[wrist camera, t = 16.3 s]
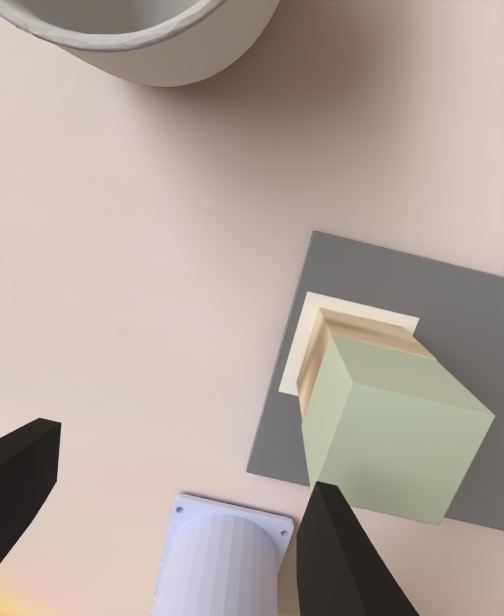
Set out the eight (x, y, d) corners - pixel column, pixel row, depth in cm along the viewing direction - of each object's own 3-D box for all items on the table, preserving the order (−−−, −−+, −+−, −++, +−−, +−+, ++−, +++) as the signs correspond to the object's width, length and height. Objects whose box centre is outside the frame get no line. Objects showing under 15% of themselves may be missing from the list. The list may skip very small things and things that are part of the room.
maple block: (374, 399, 20) (399, 447, 16) (296, 381, 20) (303, 425, 16) (402, 326, 18) (436, 359, 14) (318, 307, 18) (331, 334, 14)
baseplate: (503, 524, 22) (510, 533, 22) (246, 466, 22) (246, 473, 21) (630, 308, 18) (642, 311, 17) (313, 230, 18) (314, 231, 17)
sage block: (397, 447, 16) (438, 525, 12) (301, 425, 16) (311, 497, 12) (435, 359, 14) (495, 415, 11) (330, 334, 14) (353, 382, 11)
